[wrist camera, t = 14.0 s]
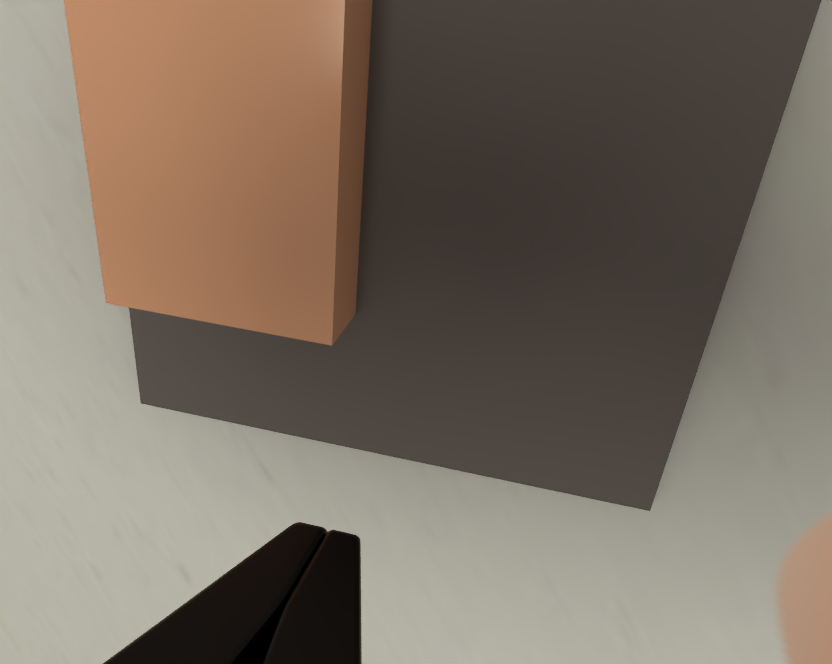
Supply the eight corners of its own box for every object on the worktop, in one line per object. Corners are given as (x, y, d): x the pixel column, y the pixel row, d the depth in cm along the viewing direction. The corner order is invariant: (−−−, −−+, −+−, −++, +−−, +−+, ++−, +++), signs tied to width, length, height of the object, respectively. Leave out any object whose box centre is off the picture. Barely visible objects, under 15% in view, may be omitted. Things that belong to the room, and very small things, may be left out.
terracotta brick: (345, -22, 14) (56, -50, 15) (332, 345, 18) (106, 303, 19) (373, -16, 16) (116, -42, 17) (355, 314, 20) (149, 276, 21)
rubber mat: (821, -18, 14) (827, -19, 14) (648, 502, 21) (649, 510, 21) (91, -83, 17) (81, -85, 17) (147, 397, 24) (140, 402, 23)
